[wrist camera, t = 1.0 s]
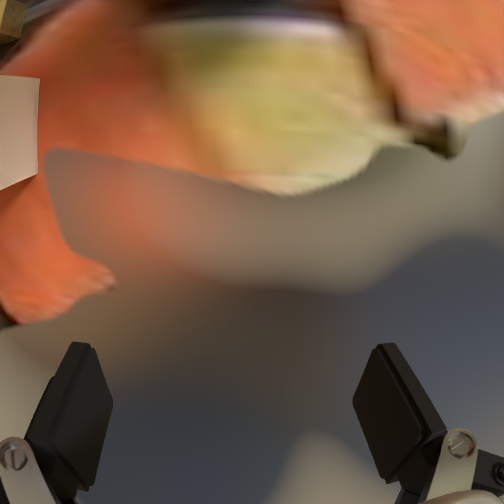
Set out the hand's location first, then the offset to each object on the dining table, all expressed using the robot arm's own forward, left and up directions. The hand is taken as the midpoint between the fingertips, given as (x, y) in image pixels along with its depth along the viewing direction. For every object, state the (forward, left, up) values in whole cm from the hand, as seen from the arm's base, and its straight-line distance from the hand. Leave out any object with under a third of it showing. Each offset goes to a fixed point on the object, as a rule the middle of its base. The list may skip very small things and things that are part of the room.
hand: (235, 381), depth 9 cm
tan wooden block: (-23, -30, -27) cm, 46 cm away
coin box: (-8, -29, -27) cm, 40 cm away
